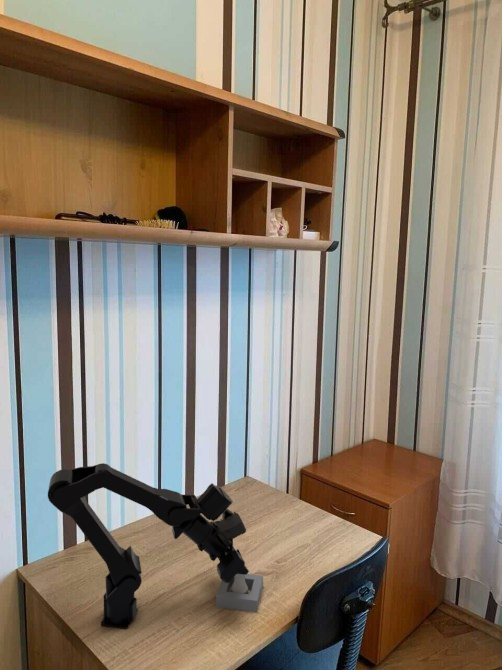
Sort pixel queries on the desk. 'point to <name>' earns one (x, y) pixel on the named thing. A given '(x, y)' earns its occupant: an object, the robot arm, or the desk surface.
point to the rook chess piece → (239, 584)
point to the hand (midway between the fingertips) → (245, 568)
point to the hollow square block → (240, 594)
